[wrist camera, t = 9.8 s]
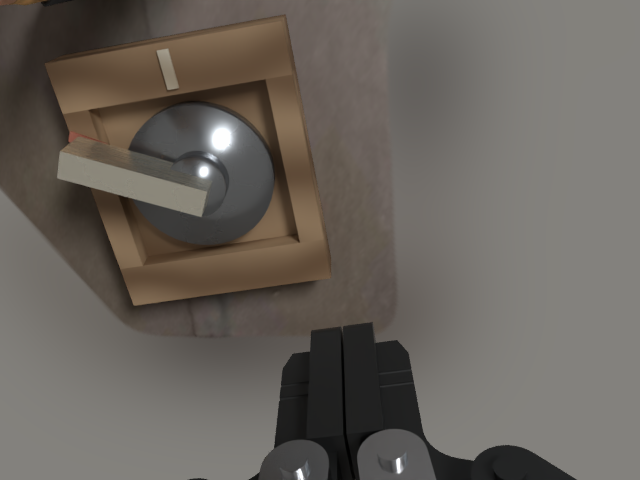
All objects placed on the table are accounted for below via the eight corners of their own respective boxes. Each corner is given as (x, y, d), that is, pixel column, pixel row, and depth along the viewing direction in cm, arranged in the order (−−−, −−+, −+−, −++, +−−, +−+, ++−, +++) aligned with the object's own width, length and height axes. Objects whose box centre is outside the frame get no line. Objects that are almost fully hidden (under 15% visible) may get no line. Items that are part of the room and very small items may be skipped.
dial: (291, 125, 40) (287, 148, 36) (256, 252, 44) (248, 286, 40) (96, 68, 39) (66, 85, 34) (79, 205, 43) (51, 235, 39)
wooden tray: (60, 55, 40) (39, 64, 37) (285, 14, 38) (281, 21, 36) (142, 285, 48) (130, 307, 45) (331, 258, 46) (331, 279, 44)
